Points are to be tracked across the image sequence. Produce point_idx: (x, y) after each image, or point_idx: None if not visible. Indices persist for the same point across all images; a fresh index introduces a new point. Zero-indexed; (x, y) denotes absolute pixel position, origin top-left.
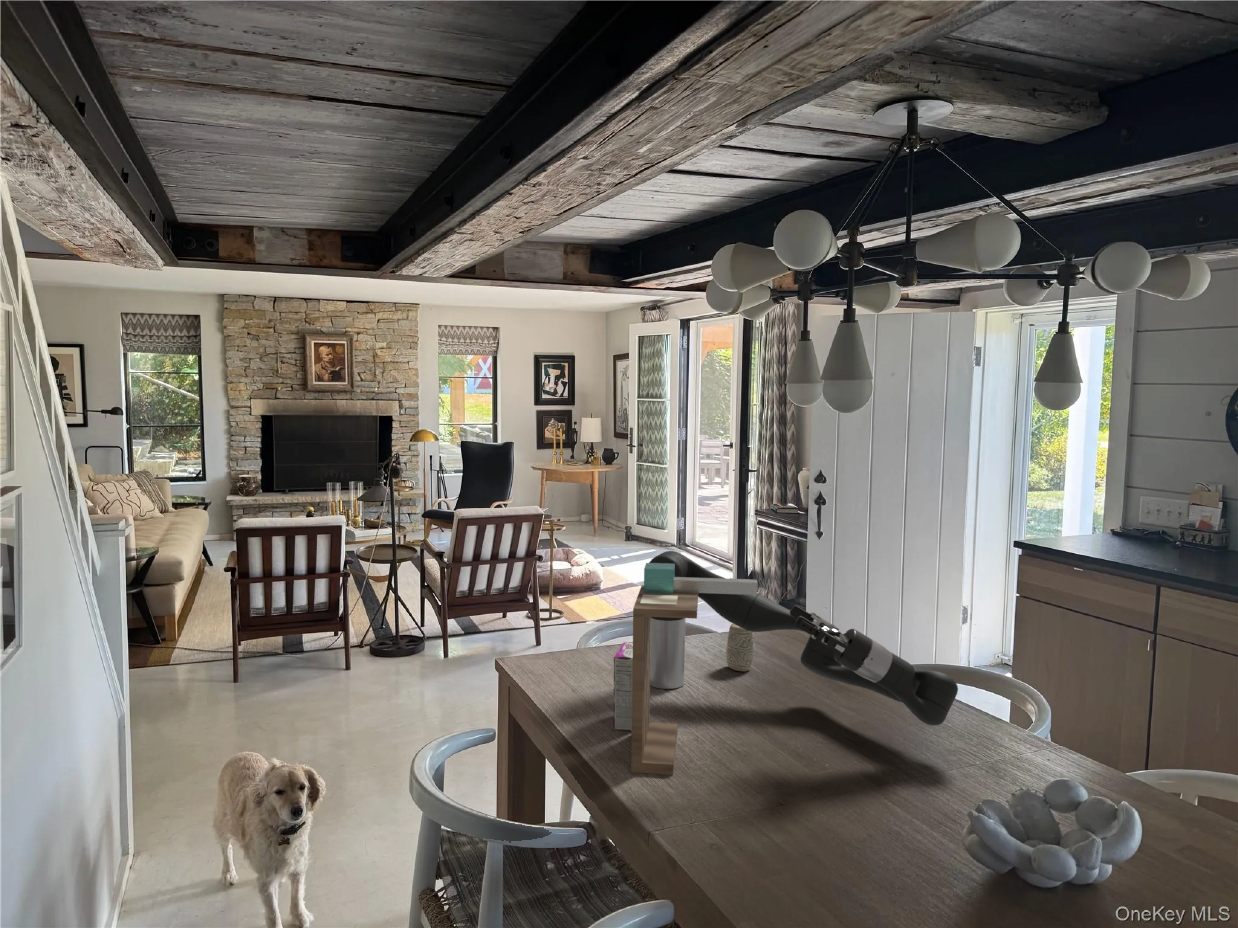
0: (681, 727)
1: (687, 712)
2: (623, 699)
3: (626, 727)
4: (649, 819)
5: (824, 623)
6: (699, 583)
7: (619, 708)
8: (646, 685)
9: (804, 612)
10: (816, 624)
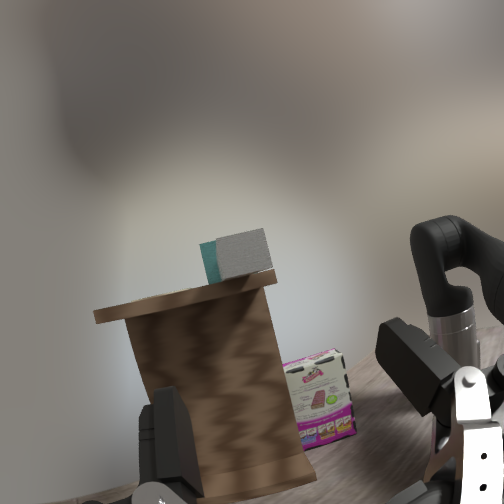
0: (339, 475)
1: (394, 454)
2: None
3: None
4: (94, 497)
5: (456, 477)
6: (217, 262)
7: None
8: (220, 411)
9: (418, 363)
10: (442, 453)
